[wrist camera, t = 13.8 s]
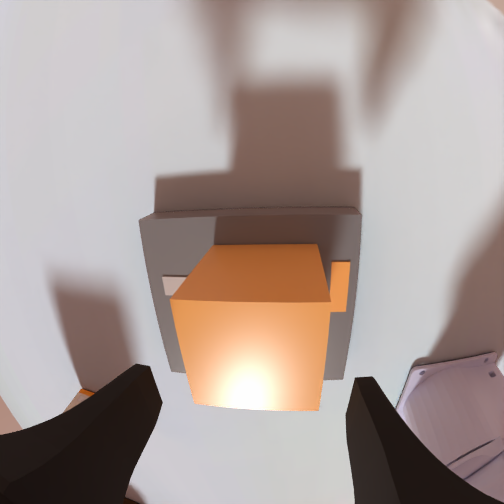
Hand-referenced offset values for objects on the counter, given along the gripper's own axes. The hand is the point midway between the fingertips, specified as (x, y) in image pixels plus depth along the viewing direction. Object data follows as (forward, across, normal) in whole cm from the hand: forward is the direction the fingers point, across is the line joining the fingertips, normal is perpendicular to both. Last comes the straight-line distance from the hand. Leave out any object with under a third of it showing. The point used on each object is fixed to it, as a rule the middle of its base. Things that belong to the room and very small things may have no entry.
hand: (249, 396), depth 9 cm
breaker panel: (+9, +1, +1) cm, 10 cm away
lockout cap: (+7, 0, 0) cm, 7 cm away
